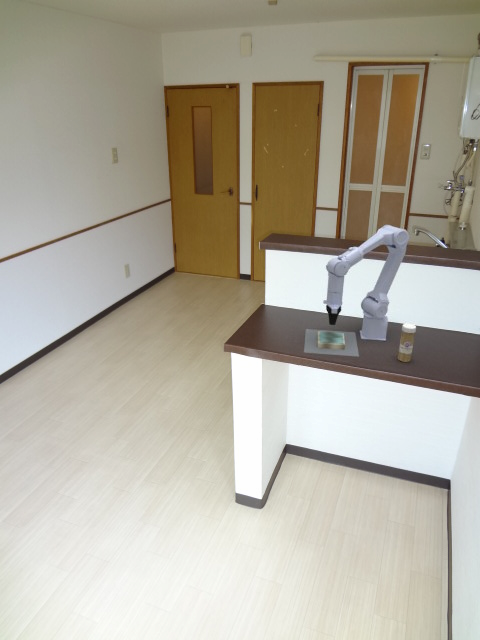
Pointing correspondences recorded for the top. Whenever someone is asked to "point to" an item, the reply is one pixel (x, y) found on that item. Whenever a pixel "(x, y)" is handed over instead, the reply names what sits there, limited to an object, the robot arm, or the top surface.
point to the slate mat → (312, 347)
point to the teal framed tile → (331, 340)
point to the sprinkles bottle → (406, 342)
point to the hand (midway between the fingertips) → (332, 324)
